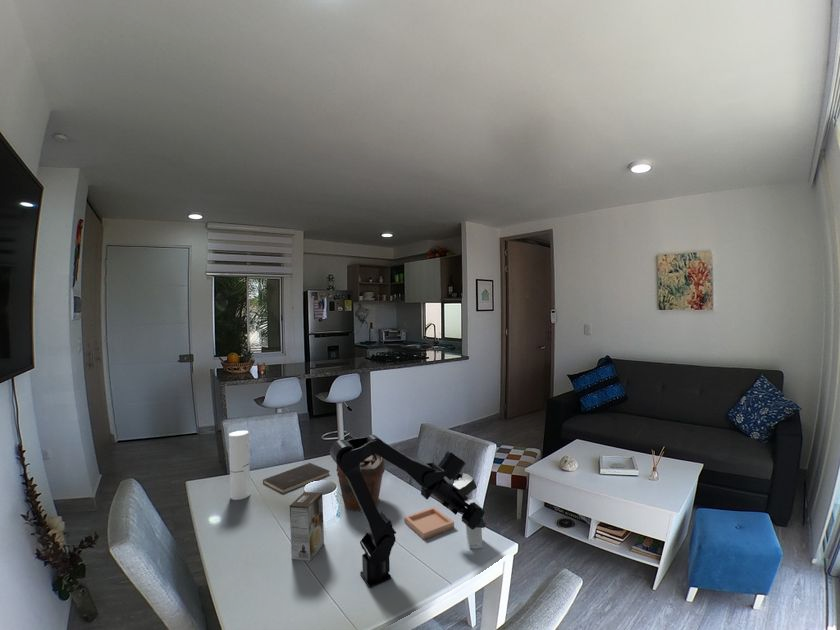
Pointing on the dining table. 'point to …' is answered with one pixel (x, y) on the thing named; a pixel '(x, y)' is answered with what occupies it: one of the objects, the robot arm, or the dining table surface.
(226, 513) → the dining table surface
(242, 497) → the cylindrical container
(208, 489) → the dining table surface
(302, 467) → the hardcover book
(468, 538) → the skincare box
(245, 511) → the dining table surface
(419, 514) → the terracotta dish
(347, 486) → the brown flower pot
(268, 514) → the dining table surface
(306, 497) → the coffee box
